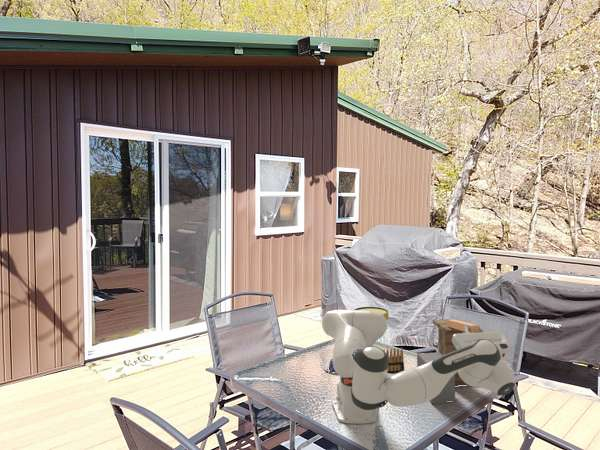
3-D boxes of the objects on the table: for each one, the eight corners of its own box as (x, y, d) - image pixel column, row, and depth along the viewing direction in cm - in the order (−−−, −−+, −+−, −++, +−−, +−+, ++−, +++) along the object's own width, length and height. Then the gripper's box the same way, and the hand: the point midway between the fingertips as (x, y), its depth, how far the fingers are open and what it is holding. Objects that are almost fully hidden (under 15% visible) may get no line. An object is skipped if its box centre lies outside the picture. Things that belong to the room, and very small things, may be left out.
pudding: (327, 364, 231) (327, 354, 230) (351, 367, 227) (350, 356, 227) (321, 373, 219) (321, 363, 219) (345, 376, 216) (345, 365, 215)
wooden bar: (478, 333, 178) (478, 325, 178) (471, 333, 178) (470, 325, 178) (454, 326, 202) (453, 319, 202) (447, 326, 201) (447, 319, 202)
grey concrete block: (454, 401, 186) (454, 365, 185) (431, 403, 185) (430, 367, 184) (439, 385, 202) (439, 352, 201) (417, 387, 201) (417, 353, 200)
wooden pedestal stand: (471, 387, 199) (471, 328, 198) (444, 388, 198) (444, 330, 197) (455, 373, 215) (455, 318, 213) (431, 374, 214) (430, 320, 212)
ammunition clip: (402, 371, 220) (402, 346, 219) (404, 372, 218) (404, 347, 217) (381, 372, 218) (381, 348, 217) (382, 374, 216) (382, 349, 215)
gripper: (458, 361, 170) (444, 333, 181) (510, 358, 172) (493, 330, 183) (461, 349, 166) (447, 322, 178) (515, 346, 168) (498, 319, 180)
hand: (471, 326), depth 181 cm, fingers closed on wooden bar, 3 cm apart
